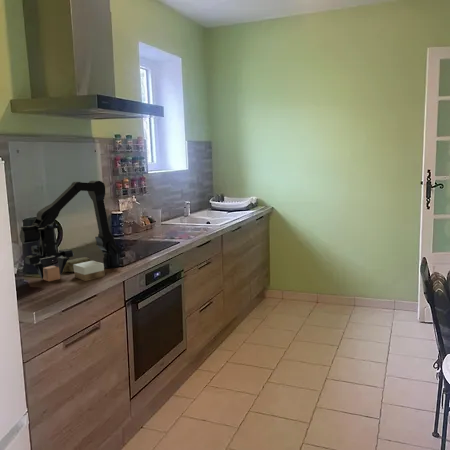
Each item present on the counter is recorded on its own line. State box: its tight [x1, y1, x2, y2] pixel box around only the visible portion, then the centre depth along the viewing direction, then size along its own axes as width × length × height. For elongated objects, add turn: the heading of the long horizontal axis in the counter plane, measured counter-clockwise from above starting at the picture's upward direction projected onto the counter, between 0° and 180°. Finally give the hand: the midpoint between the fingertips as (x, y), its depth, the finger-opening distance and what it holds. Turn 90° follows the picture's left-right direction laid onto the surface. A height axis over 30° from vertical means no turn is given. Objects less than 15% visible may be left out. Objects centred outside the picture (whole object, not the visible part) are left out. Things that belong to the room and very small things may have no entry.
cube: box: [42, 265, 61, 282], centre depth 194 cm, size 5×5×5 cm
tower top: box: [73, 260, 105, 275], centre depth 195 cm, size 9×9×3 cm
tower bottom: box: [74, 270, 106, 282], centre depth 195 cm, size 9×9×3 cm
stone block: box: [63, 256, 91, 273], centre depth 209 cm, size 6×12×5 cm, turn 142°
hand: (51, 276), depth 194 cm, fingers open, 8 cm apart
